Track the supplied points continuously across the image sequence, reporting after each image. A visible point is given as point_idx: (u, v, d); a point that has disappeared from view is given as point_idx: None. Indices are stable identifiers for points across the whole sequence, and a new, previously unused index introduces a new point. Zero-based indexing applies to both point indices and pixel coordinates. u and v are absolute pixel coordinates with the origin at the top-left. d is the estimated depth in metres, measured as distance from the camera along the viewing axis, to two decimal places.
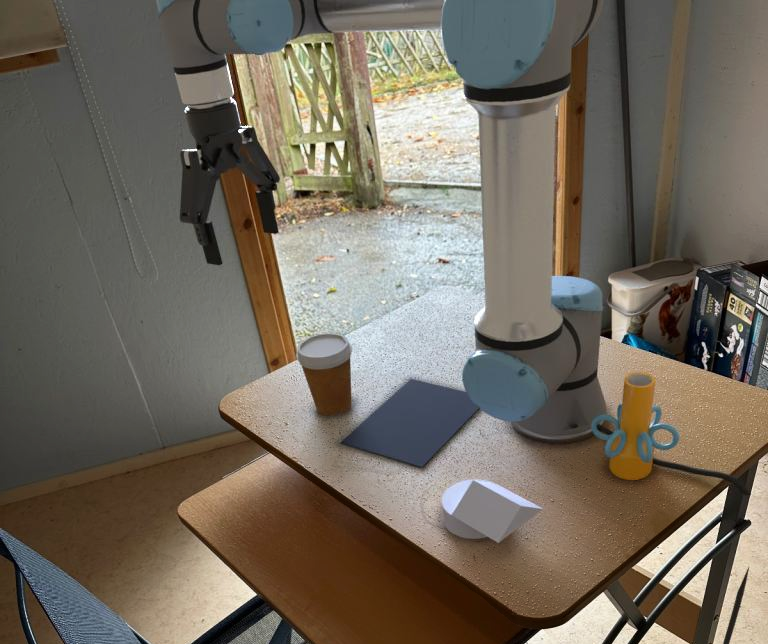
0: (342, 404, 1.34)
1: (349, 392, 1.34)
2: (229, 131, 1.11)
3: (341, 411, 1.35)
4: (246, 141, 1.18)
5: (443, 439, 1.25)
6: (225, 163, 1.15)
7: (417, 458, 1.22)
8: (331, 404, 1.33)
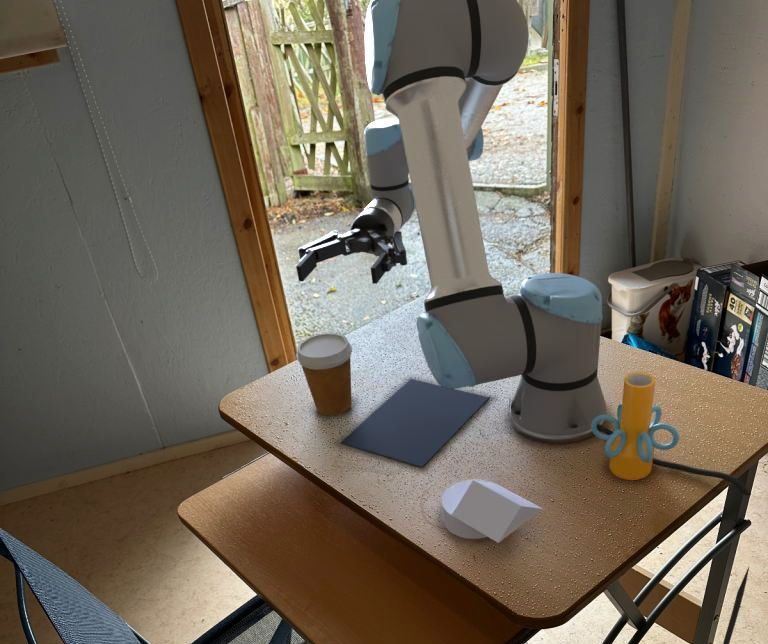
0: (342, 404, 1.34)
1: (349, 392, 1.34)
2: (363, 215, 1.41)
3: (341, 411, 1.35)
4: (391, 238, 1.39)
5: (443, 439, 1.25)
6: (357, 238, 1.40)
7: (417, 458, 1.22)
8: (331, 404, 1.33)
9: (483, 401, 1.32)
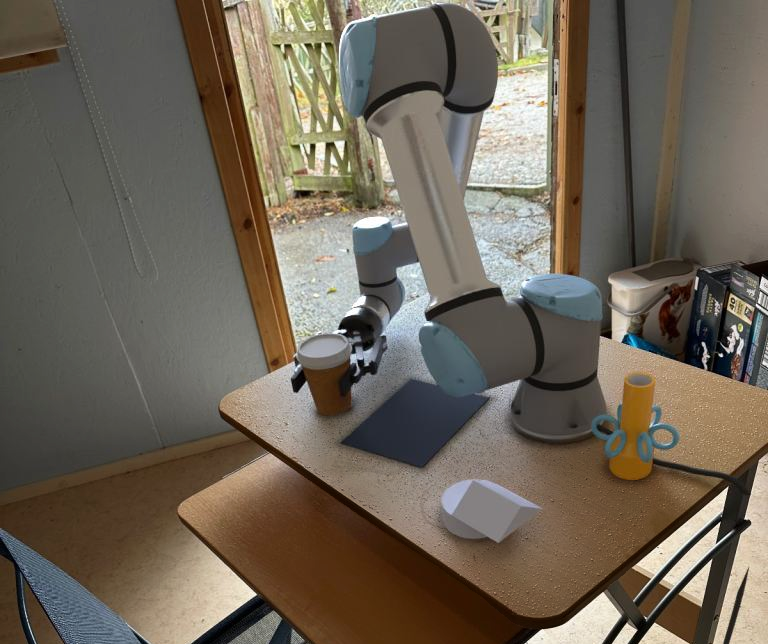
0: (342, 404, 1.34)
1: (349, 392, 1.34)
2: (350, 316, 1.41)
3: (341, 411, 1.35)
4: (374, 342, 1.39)
5: (443, 439, 1.25)
6: None
7: (417, 458, 1.22)
8: (331, 404, 1.33)
9: (483, 401, 1.32)
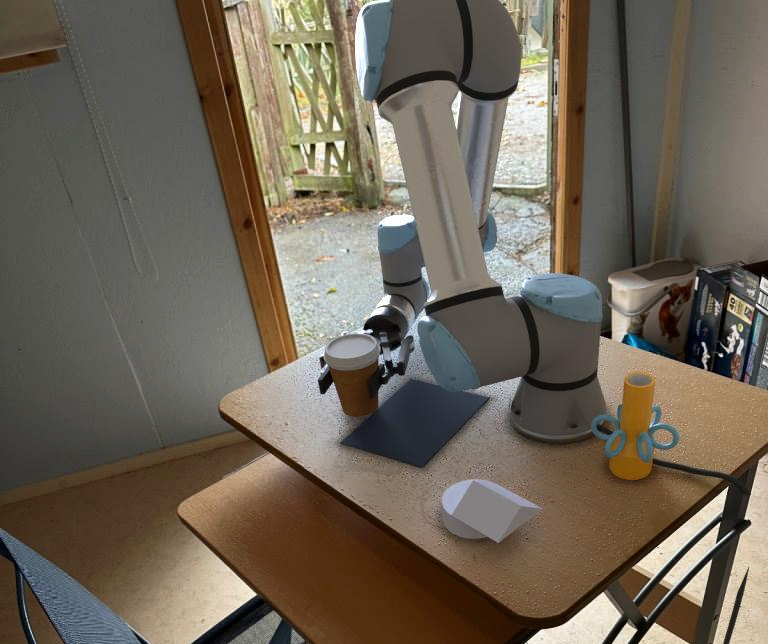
0: (370, 405, 1.31)
1: (377, 393, 1.31)
2: (376, 315, 1.38)
3: (368, 413, 1.32)
4: (401, 342, 1.36)
5: (443, 439, 1.25)
6: None
7: (417, 458, 1.22)
8: (358, 406, 1.30)
9: (483, 401, 1.32)
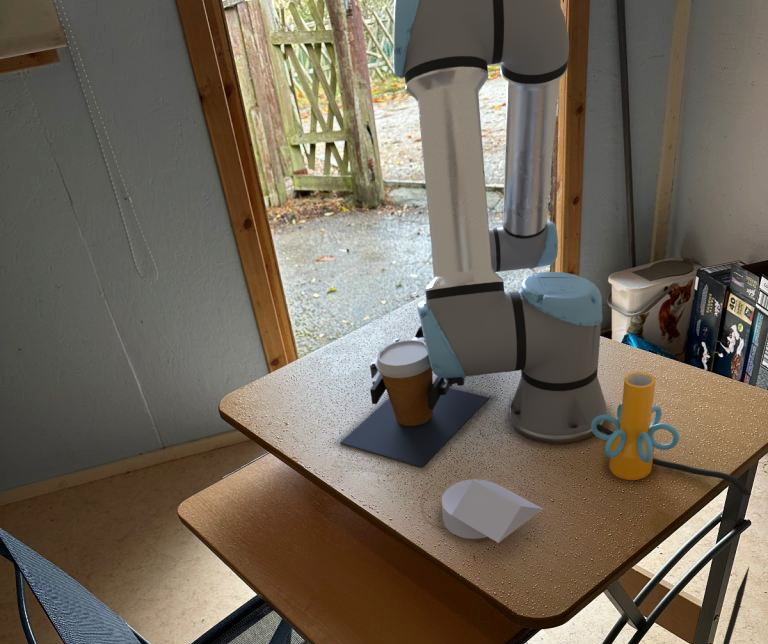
0: (425, 413, 1.27)
1: None
2: None
3: (424, 421, 1.28)
4: None
5: (443, 439, 1.25)
6: None
7: (417, 458, 1.22)
8: (413, 414, 1.27)
9: (483, 401, 1.32)
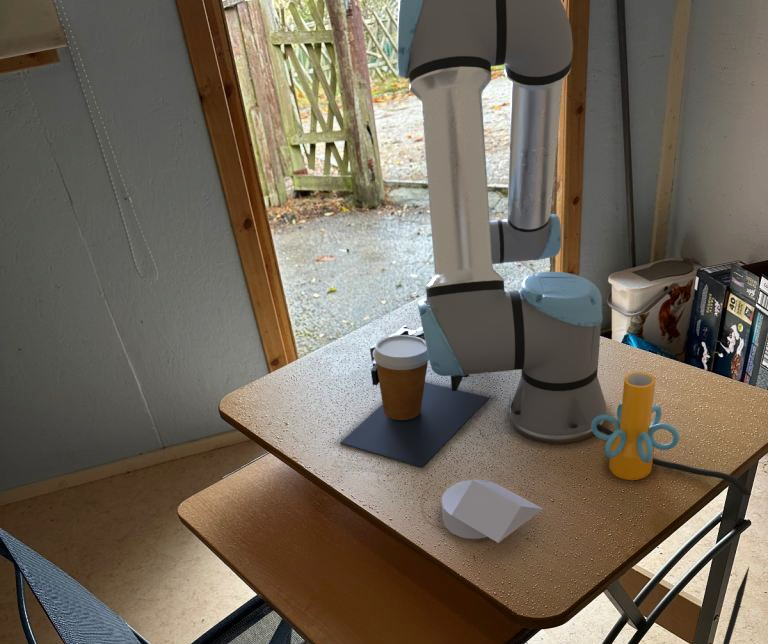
0: (413, 409, 1.29)
1: (421, 398, 1.29)
2: None
3: (410, 417, 1.29)
4: None
5: (443, 439, 1.25)
6: None
7: (417, 458, 1.22)
8: (401, 408, 1.28)
9: (483, 401, 1.32)
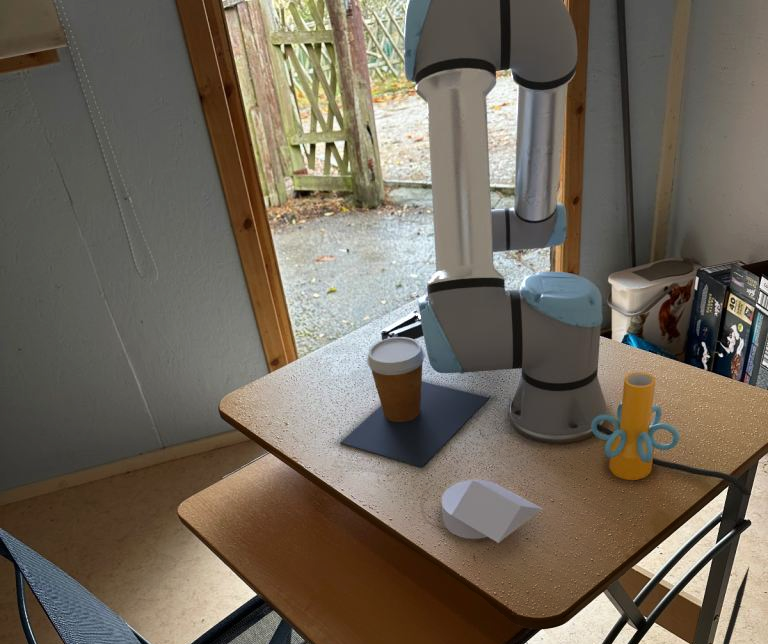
0: (411, 411, 1.29)
1: (418, 399, 1.29)
2: None
3: (409, 418, 1.30)
4: None
5: (443, 439, 1.25)
6: None
7: (417, 458, 1.22)
8: (399, 411, 1.28)
9: (483, 401, 1.32)
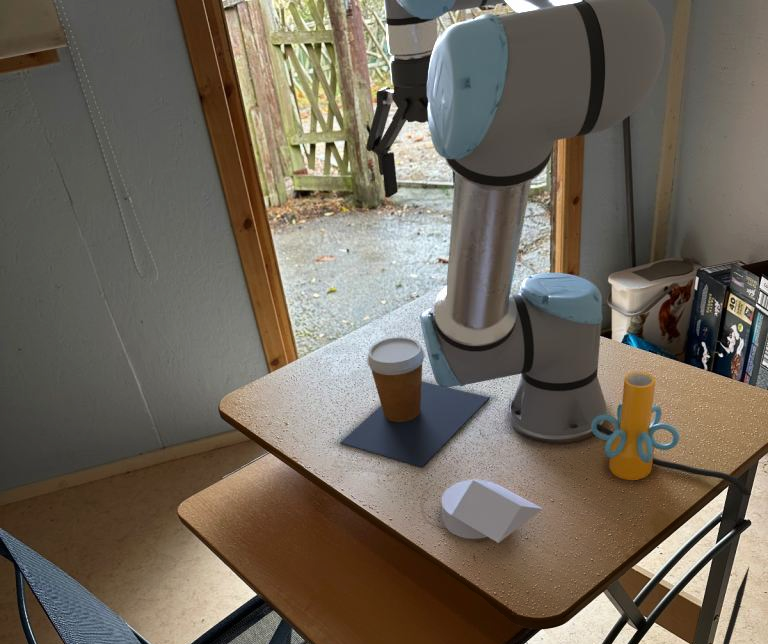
0: (411, 411, 1.29)
1: (418, 399, 1.29)
2: (399, 86, 1.17)
3: (409, 418, 1.30)
4: None
5: (443, 439, 1.25)
6: (411, 114, 1.21)
7: (417, 458, 1.22)
8: (399, 411, 1.28)
9: (483, 401, 1.32)
